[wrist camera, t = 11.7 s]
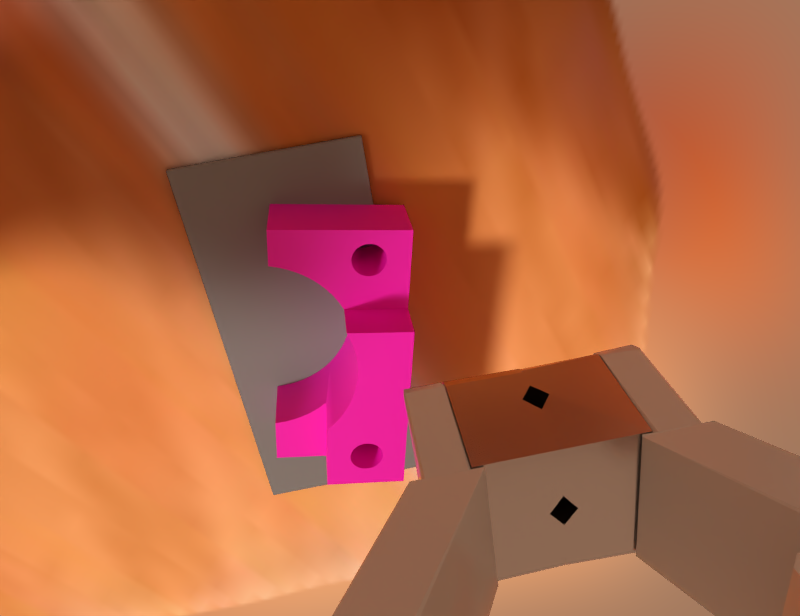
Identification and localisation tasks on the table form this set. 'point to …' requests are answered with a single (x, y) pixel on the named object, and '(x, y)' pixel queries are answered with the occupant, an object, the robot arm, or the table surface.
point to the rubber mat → (270, 279)
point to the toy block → (350, 338)
